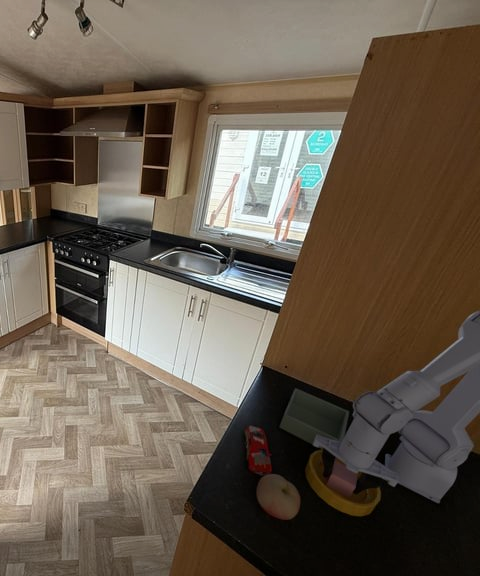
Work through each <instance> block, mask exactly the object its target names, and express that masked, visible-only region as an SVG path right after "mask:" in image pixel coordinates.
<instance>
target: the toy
mask: <svg viewBox="0 0 480 576" xmlns="http://www.w3.org/2000/svg"><path fill="white" fill-rule="evenodd" d="M357 475H358V473H354V472H352V471H350V470H348V469H347V468H346V466H344V465H342V464H340V463H339V462H337V461H335V462H334V465H333V466H332V468H331V469H330V471H329V474H328V477H327V481H326V486H327V487H329V488H330V489H332V490H334V491H336V492H337V493H339V494H341V495H343V496H345V497H346V498H348V499H349V497H350V496H351V494H352V493H353V491H354V489H355V488H356V482H357Z"/></svg>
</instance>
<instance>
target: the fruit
mask: <svg viewBox="0 0 480 576" xmlns="http://www.w3.org/2000/svg"><path fill="white" fill-rule="evenodd" d="M256 499H257V502H258V504H259V505H260V507H261V509H262V510H264V512H265V513H267V514H268V515H270V516H271V517H273V518H276V519H280V520H283V521H288V520H292V519H293V518H295V517H296V516H297V514H298V513H299V511H300V509H301V508H300V507H301V495H300V493H299V491H298V489H297V488H296V486H295V485H294V484H293V483H291V482H290V481H288V480H287V479H286V478H284V477H283V476H281V475H280V474H277V473H276V474H275V473H270V474H268V475H265V476H261V478H260V479H259V481H258V484H257V485H256Z"/></svg>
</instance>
